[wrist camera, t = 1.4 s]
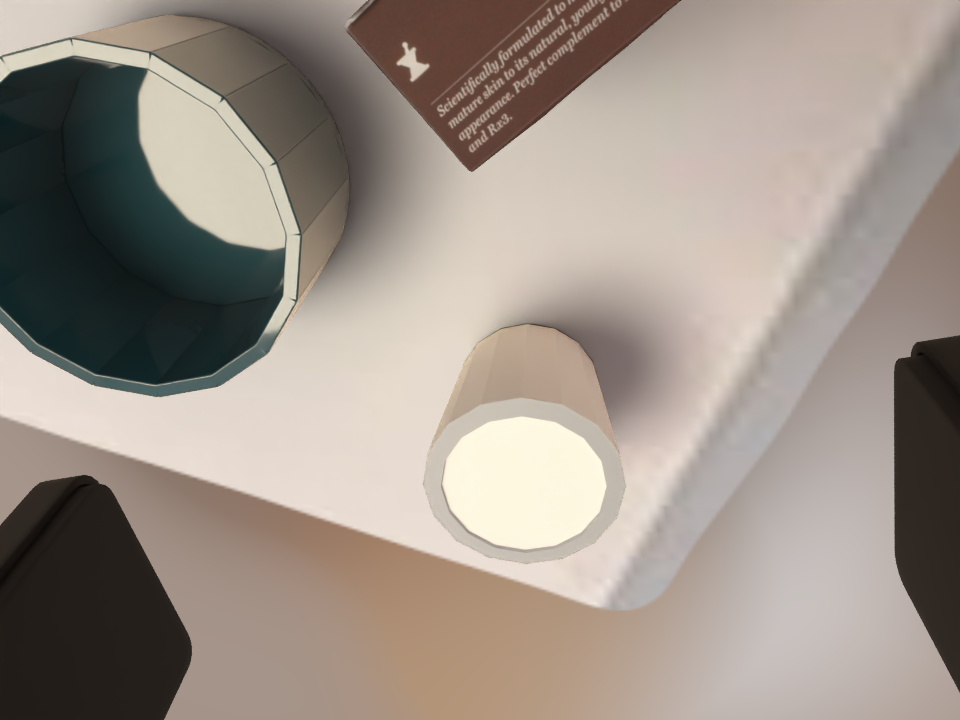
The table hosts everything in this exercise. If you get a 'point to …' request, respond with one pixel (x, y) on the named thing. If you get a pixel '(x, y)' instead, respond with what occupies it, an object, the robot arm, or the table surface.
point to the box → (494, 59)
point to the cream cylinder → (525, 450)
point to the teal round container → (162, 201)
